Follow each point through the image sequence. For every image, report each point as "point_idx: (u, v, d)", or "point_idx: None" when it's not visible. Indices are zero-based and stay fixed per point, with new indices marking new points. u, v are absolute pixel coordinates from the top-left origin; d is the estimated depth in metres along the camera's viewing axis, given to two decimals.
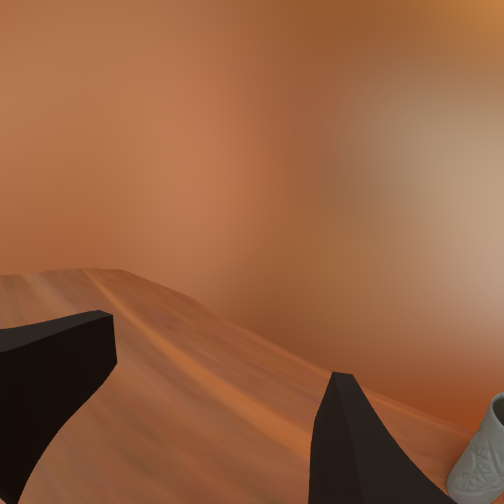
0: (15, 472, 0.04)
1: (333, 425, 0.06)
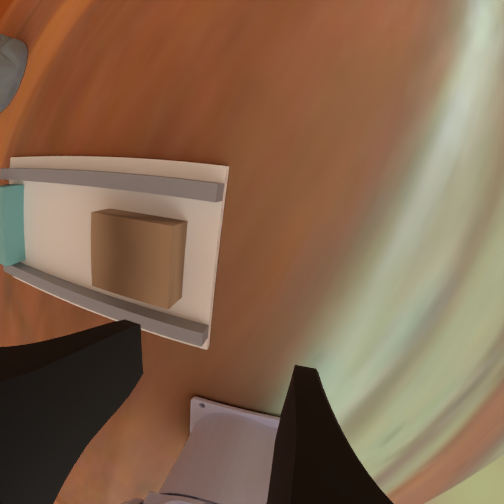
0: (43, 495, 0.04)
1: (288, 417, 0.06)
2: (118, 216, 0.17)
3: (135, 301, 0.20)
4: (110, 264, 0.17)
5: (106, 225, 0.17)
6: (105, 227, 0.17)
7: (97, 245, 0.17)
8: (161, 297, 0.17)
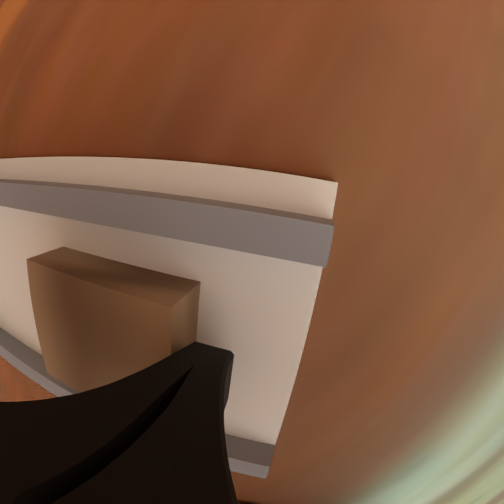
0: None
1: None
2: (68, 271, 0.08)
3: None
4: (67, 351, 0.09)
5: (50, 286, 0.08)
6: (49, 289, 0.08)
7: (42, 317, 0.09)
8: None
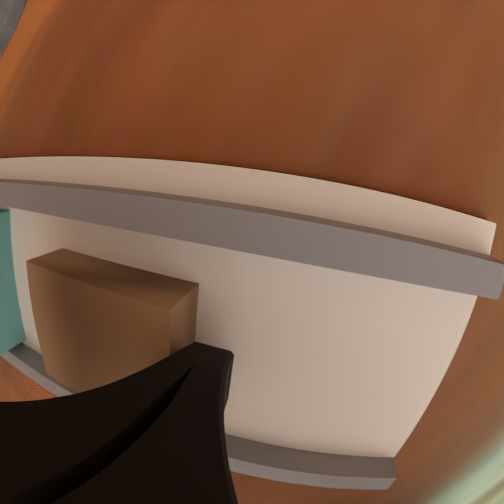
0: None
1: None
2: (67, 273, 0.08)
3: (267, 440, 0.10)
4: (66, 352, 0.09)
5: (49, 288, 0.08)
6: (48, 291, 0.08)
7: (42, 318, 0.09)
8: None
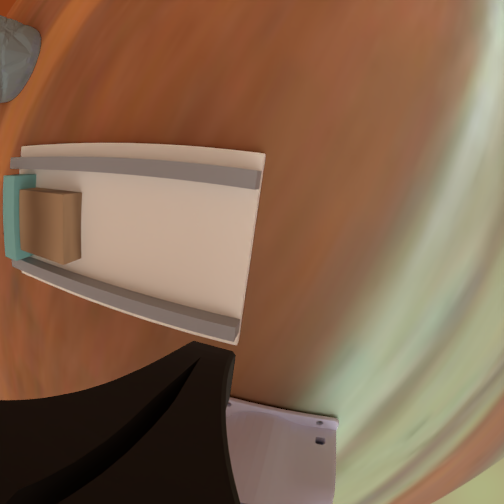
0: None
1: None
2: (34, 190, 0.18)
3: (160, 295, 0.19)
4: (30, 230, 0.19)
5: (27, 199, 0.18)
6: (27, 200, 0.18)
7: (22, 215, 0.18)
8: (59, 255, 0.18)
